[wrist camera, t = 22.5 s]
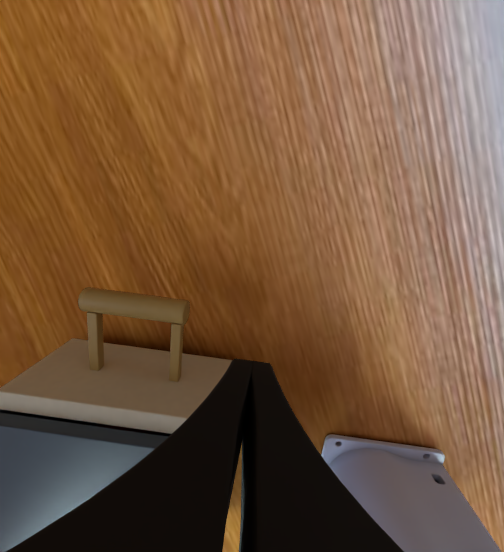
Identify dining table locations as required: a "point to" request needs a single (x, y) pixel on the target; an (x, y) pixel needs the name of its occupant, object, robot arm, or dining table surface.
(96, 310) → the drawer
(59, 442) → the cabinet
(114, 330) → the dining table surface
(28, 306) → the dining table surface
